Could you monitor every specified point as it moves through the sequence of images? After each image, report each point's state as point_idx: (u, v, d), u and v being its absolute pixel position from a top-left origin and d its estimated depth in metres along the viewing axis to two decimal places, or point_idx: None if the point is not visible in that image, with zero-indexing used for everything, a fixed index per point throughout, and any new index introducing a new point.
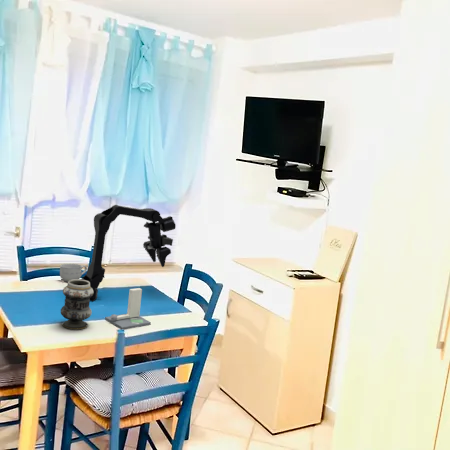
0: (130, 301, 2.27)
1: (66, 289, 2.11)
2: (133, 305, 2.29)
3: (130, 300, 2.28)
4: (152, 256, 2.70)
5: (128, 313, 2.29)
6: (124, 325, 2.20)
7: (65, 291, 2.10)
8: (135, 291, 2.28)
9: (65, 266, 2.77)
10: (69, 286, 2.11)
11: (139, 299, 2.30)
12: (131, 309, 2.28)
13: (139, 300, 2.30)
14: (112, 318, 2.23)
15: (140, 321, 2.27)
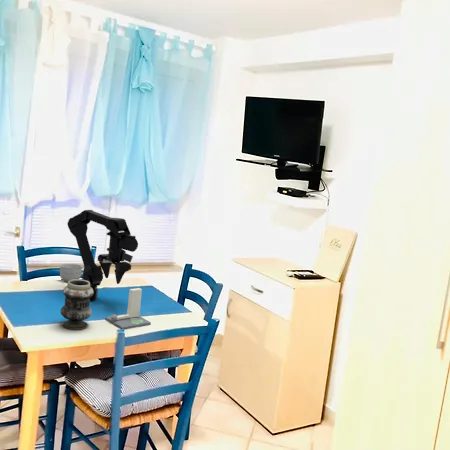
0: (130, 301, 2.27)
1: (66, 289, 2.11)
2: (133, 305, 2.29)
3: (130, 300, 2.28)
4: (105, 271, 2.44)
5: (128, 313, 2.29)
6: (124, 325, 2.20)
7: (65, 291, 2.10)
8: (135, 291, 2.28)
9: (65, 266, 2.77)
10: (69, 286, 2.11)
11: (139, 299, 2.30)
12: (131, 309, 2.28)
13: (139, 300, 2.30)
14: (112, 318, 2.23)
15: (140, 321, 2.27)
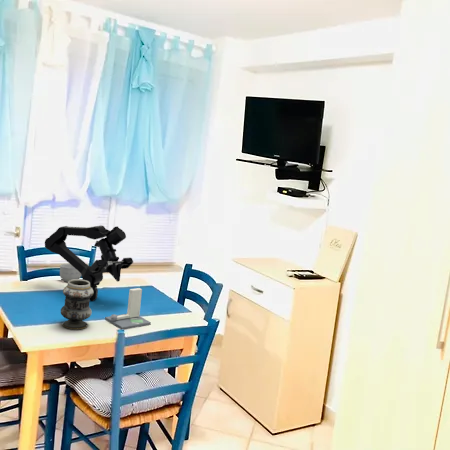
0: (130, 301, 2.27)
1: (66, 289, 2.11)
2: (133, 305, 2.29)
3: (130, 300, 2.28)
4: None
5: (128, 313, 2.29)
6: (124, 325, 2.20)
7: (65, 291, 2.10)
8: (135, 291, 2.28)
9: (65, 266, 2.77)
10: (69, 286, 2.11)
11: (139, 299, 2.30)
12: (131, 309, 2.28)
13: (139, 300, 2.30)
14: (112, 318, 2.23)
15: (140, 321, 2.27)
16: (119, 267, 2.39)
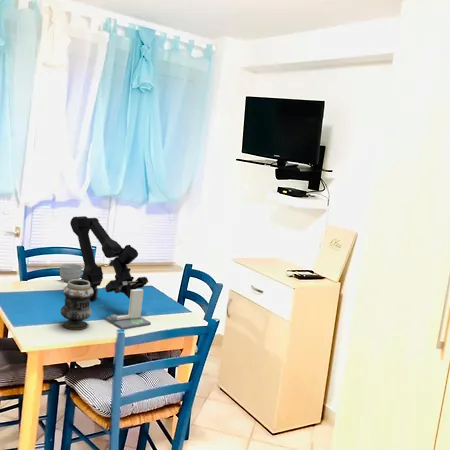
0: (131, 302, 2.27)
1: (66, 289, 2.11)
2: (134, 306, 2.28)
3: (131, 301, 2.27)
4: None
5: (129, 314, 2.28)
6: (124, 325, 2.20)
7: (65, 291, 2.10)
8: (136, 292, 2.27)
9: (65, 266, 2.77)
10: (69, 286, 2.11)
11: (140, 300, 2.29)
12: (132, 310, 2.28)
13: (140, 301, 2.29)
14: (112, 318, 2.23)
15: (140, 321, 2.27)
16: (134, 287, 2.31)
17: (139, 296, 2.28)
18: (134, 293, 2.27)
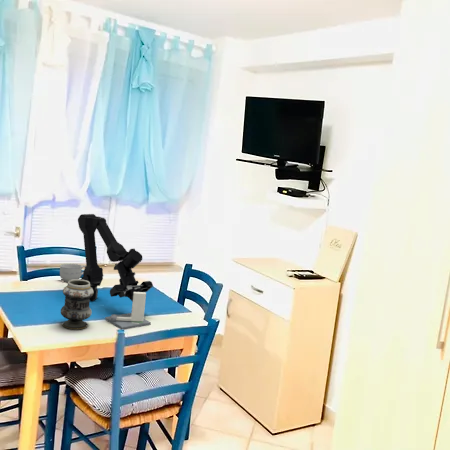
0: (132, 304, 2.24)
1: (66, 289, 2.11)
2: (136, 308, 2.25)
3: (132, 303, 2.24)
4: None
5: (131, 316, 2.26)
6: (124, 325, 2.20)
7: (65, 291, 2.10)
8: (137, 294, 2.24)
9: (65, 266, 2.77)
10: (69, 286, 2.11)
11: (143, 303, 2.25)
12: (133, 312, 2.25)
13: (143, 305, 2.25)
14: (111, 318, 2.23)
15: (140, 321, 2.27)
16: None
17: (141, 299, 2.24)
18: (135, 295, 2.23)
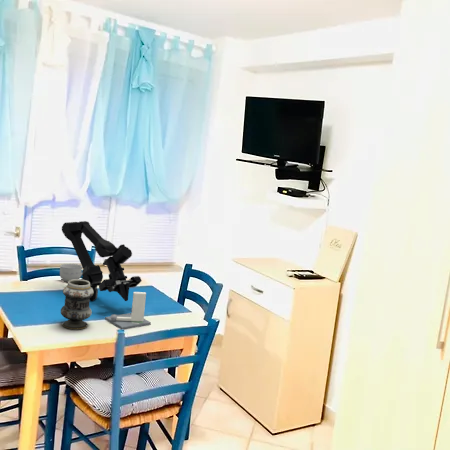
0: (132, 304, 2.24)
1: (66, 289, 2.11)
2: (136, 308, 2.25)
3: (132, 303, 2.24)
4: None
5: (131, 316, 2.26)
6: (124, 325, 2.20)
7: (65, 291, 2.10)
8: (137, 294, 2.24)
9: (65, 266, 2.77)
10: (69, 286, 2.11)
11: (143, 303, 2.25)
12: (133, 312, 2.25)
13: (143, 305, 2.25)
14: (111, 318, 2.23)
15: (140, 321, 2.27)
16: (127, 286, 2.34)
17: (141, 299, 2.24)
18: (135, 295, 2.23)
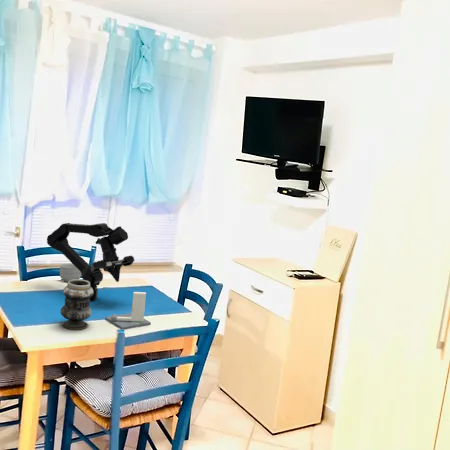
0: (132, 304, 2.24)
1: (66, 289, 2.11)
2: (136, 308, 2.25)
3: (132, 303, 2.24)
4: None
5: (131, 316, 2.26)
6: (124, 325, 2.20)
7: (65, 291, 2.10)
8: (137, 294, 2.24)
9: (65, 266, 2.77)
10: (69, 286, 2.11)
11: (143, 303, 2.25)
12: (133, 312, 2.25)
13: (143, 305, 2.25)
14: (111, 318, 2.23)
15: (140, 321, 2.27)
16: (118, 267, 2.39)
17: (141, 299, 2.24)
18: (135, 295, 2.23)
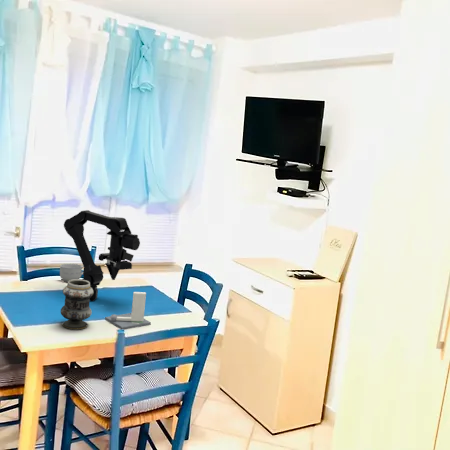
0: (132, 304, 2.24)
1: (66, 289, 2.11)
2: (136, 308, 2.25)
3: (132, 303, 2.24)
4: None
5: (131, 316, 2.26)
6: (124, 325, 2.20)
7: (65, 291, 2.10)
8: (137, 294, 2.24)
9: (65, 266, 2.77)
10: (69, 286, 2.11)
11: (143, 303, 2.25)
12: (133, 312, 2.25)
13: (143, 305, 2.25)
14: (111, 318, 2.23)
15: (140, 321, 2.27)
16: (111, 269, 2.40)
17: (141, 299, 2.24)
18: (135, 295, 2.23)
